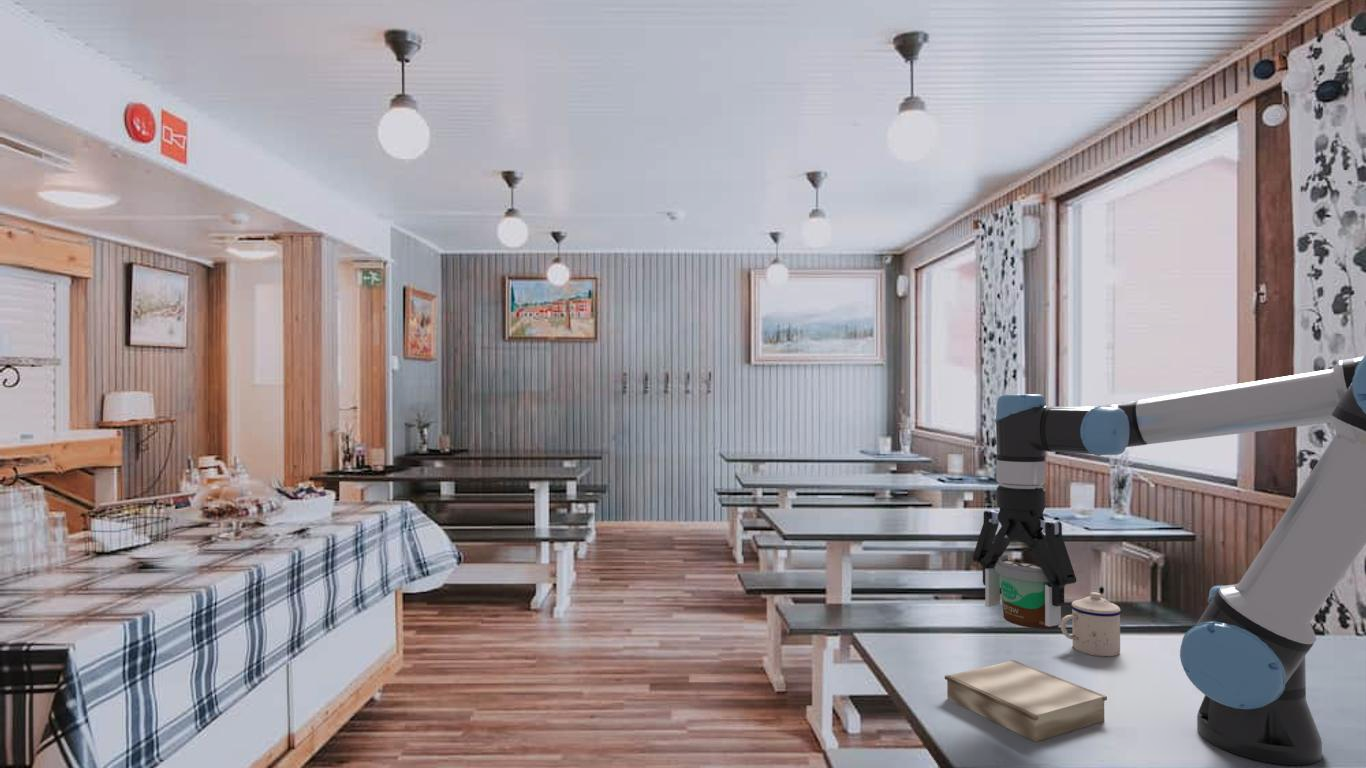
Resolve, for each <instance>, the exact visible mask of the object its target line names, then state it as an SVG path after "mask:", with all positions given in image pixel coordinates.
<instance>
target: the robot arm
mask: <svg viewBox="0 0 1366 768" xmlns="http://www.w3.org/2000/svg"><path fill="white" fill-rule="evenodd" d="M997 398H998V399H997V401H996V411H995V412H996V414H995V415H996V416H995V420H994V422H995V426H996V427H995V430H996V433H995V435H996V472H995V473H996V476H995V477H996V482H997V483H999V484H1000V485H998V486H997V487H996V505H997V507H998V508H999V510H997V509H990V510H989V509H988V510H984V512H983V523H982V526H981V530H980V532H979V536H978V539H977V542H976V546H975V549H974V552H973V555H972V561H974V562H975V563H978V564H980V566H981V567H982V584H983V586H985V592H984V594H985V595H984V596H985V597H984V598H985V600H984V601H985V605H984V606H985V607H988V608H990V607H995V606H1001V584H1000V574H999V573H997V572H996V571H995V569H996V564H997V561H998V560H999V557H1000V556H1002V555H1004V552H1005V551H1006V550H1007V548H1008V547H1009V545H1010V544H1011V542H1012V541H1019V542H1021V543H1025V544H1026V546H1027V547H1028V548H1030V549H1031V550H1032V552H1033V555H1034V557H1035V559H1036V560H1037V563H1038V564H1039V565H1040V567H1041V568H1042V570H1043V572H1044V574H1045V575H1046V577H1047V579H1048V581H1049V584H1047V585H1045V625H1046V626H1049V627H1050V626H1055V625H1059V626H1061V620H1062V615H1061V614H1062V610H1061V609H1062V606H1064V604H1065V586H1066V585H1071V584H1076V583H1077V577H1076V575H1075V571H1074V569H1073V564H1072V561H1071V558H1070V556H1069V552H1068V549H1067V545H1066V544H1065V541H1064V538H1063V524H1062V522H1061V521H1060V520H1053V521H1052V520H1051V521H1049V520H1045V517H1044V510H1045V509H1046V507H1047V506H1046V489H1045V488H1044V487H1043V485H1045V484H1046V452H1050V453H1054V452H1056V453H1068V454H1069V453H1070V454H1082V455H1083V454H1085V455H1094V456H1097V457H1100V456H1113V455H1114V456H1118V455H1121V454H1123V453H1125V451H1126V449H1127V448H1131V447H1132V448H1133V447H1138V446H1139V447H1140V446H1141V447H1142V446H1147V445H1154V444H1161V443H1171V442H1177V441H1178V442H1180V441H1187V440H1194V439H1195V440H1196V439H1203V438H1204V439H1206V438H1213V437H1222V436H1229V435H1231V436H1232V435H1238V434H1246V433H1254V432H1255V433H1257V432H1262V431H1263V432H1264V431H1273V430H1280V429H1287V428H1296V427H1297V428H1298V427H1304V426H1307V427H1308V426H1314V425H1315V426H1316V425H1324V424H1330V423H1331V424H1333V428H1334V430H1335V435H1334V436H1333V438H1332V440H1331V441H1330V443H1329V444H1328V446H1326V449H1325V450H1324V452H1323V453H1322V455H1321V457H1320V458H1319V460H1318V461H1317V463H1316V464H1315V465H1314V468H1313V469H1312V470H1311V471H1310V473H1309V475H1308V477H1307V478H1306V480H1305V481H1304V483H1303V484H1302V486H1301V487H1300V488H1299V490H1298V492H1297V494H1295V497H1294V498H1293V500H1292V501H1291V503H1290V504H1289V506H1288V507H1287V509H1286V510H1285V512H1284V513H1283V515H1282V516H1281V518H1280V520H1279V521H1278V523H1277V524H1276V525H1275V527H1274V529H1273V530H1272V532H1271V533H1270V535H1269V537H1268V538H1267V539H1266V540H1265V543H1264V544H1263V545H1262V547H1261V549H1260V550H1259V552H1258V553H1257V555H1256V556H1255V557H1254V559H1253V561H1252V562H1251V563H1250V566H1249V567H1248V569H1246V572H1245V573H1244V575H1243V576H1242V578H1241V580H1240V581H1239V582H1238V583H1235V584H1228V585H1214V586H1212V587H1211V588H1210V590H1209V595H1208V597H1207V603H1208V606H1207V607H1206V609H1205V610H1204V612H1203V613H1202V615H1201V617H1200V618H1199V619H1198V621H1197V623H1196V624H1195V625H1193V626H1192V627H1191V628H1190V629H1188V630H1186V632H1185V634H1184V635H1183V637H1182V641H1181V644H1180V649H1179V658H1180V663H1181V665H1182V668H1183V671H1184V672H1185V676H1187V678H1188V680H1189V681H1190V682H1191V683H1192V684H1193V686H1194V687H1195V688H1196V689H1197V690H1199V691H1200V692H1201V693H1202V694H1203V695H1204V696H1203V700H1202V701H1201V705H1200V706H1199V709H1198V711H1197V715H1196V729H1197V732H1198V733H1199V735H1200V736H1201V737H1202V738H1203V739H1205V740H1206V741H1207V742H1209V743H1210V744H1212V745H1214V746H1216V747H1218V748H1220V749H1222V750H1224V751H1227V752H1229V753H1232V754H1234V755H1238V756H1241V757H1243V758H1248V759H1250V760H1255V761H1259V762H1264V763H1271V764H1277V765H1286V766H1288V765H1289V766H1307V765H1311V764H1316V763H1318V762H1319V761H1321V760H1322V757H1323V742H1322V737H1321V734H1320V732H1319V729H1318V727H1317V725H1316V722H1315V720H1314V718H1313V717H1314V716H1313V715H1312V711H1311V710H1310V707H1309V704H1308V702H1307V693H1306V692H1307V691H1306V688H1307V687H1306V685H1307V681H1306V679H1307V678H1306V676H1307V675H1306V674H1307V673H1306V672H1307V671H1306V670H1307V669H1306V655H1307V654H1308V653H1309V651H1310V650H1311V648H1312V647H1313V646H1314V644H1315V643H1316V641H1317V636H1316V634H1315V632H1314V629H1313V627H1312V623H1311V622H1312V621H1313V619H1314V618H1315V617H1316V615H1317V614H1318V612H1319V611H1320V610H1321V608H1322V607H1323V605H1324V604H1325V602H1326V601H1327V599H1328V598H1329V596H1330V595H1331V594H1332V593H1333V591H1334V590H1335V588H1336V586H1337V585H1338V584H1339V582H1341V581H1340V580H1341V579H1342V578H1343V577H1344V575H1345V574H1346V573H1347V571H1348V570H1349V568H1350V566H1351V565H1352V564H1353V562H1354V561H1355V559H1356V558H1357V556H1358V555H1359V554H1360V553H1361V551H1362V549H1364V546H1365V545H1366V354H1365V355H1362V356H1358V357H1357V356H1356V357H1352V358H1346V359H1340V360H1339V361H1338V362H1337V363H1336V364H1335V365H1333V367H1332V368H1329V369H1323V370H1316V371H1310V372H1304V373H1298V374H1297V373H1296V374H1293V375H1286V376H1279V377H1273V378H1267V379H1261V380H1256V381H1254V380H1253V381H1248V382H1243V383H1242V382H1241V383H1235V384H1229V385H1224V386H1218V387H1210V388H1205V389H1200V390H1199V389H1198V390H1191V391H1186V392H1180V393H1175V394H1168V395H1162V396H1156V397H1149V398H1143V399H1139V400H1137V399H1136V400H1131V401H1130V400H1129V401H1123V402H1118V403H1116V402H1115V403H1110V404H1105V405H1104V404H1102V405H1089V406H1054V405H1046V404H1047V403H1046V400H1045V396H1044V395H1042V394H1039V393H1038V394H1033V393H1032V394H1031V393H1020V394H1019V393H1008V394H1006V393H1005V394H1002V395H1000V396H999V397H997ZM999 524H1000V529H999V530H998V528H999Z"/></svg>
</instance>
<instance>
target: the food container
mask: <svg viewBox="0 0 1366 768" xmlns="http://www.w3.org/2000/svg"><path fill="white" fill-rule="evenodd" d="M995 567H996V569H995V571H996V572H997V573H999V574H1000V595H1001V601H1002V602H1001V603H1002V611H1003V619H1004V620H1005V621H1007V622H1009V623H1011V624H1013V625H1015V626H1016V625H1017V626H1019V627H1023V628H1024V627H1025V628H1031V629H1039V630H1040V629H1043V630H1044V629H1045V630H1047V629H1048V630H1049V629H1058V628H1059V626H1060V625H1055V626H1050V627H1049V626H1046V625H1045V585H1047V584H1049V581H1048V579H1047V577H1046V575H1045V574H1044V572H1043V570H1042V568H1041V566H1039V565H1037V564H1035V563H1029V562H1027V563H1026V562H1018V561H1014V560H1011V559H1009V554H1002V556H1000V557H999V560H998V561H997V564H996V566H995Z"/></svg>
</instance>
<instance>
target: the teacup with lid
mask: <svg viewBox="0 0 1366 768" xmlns="http://www.w3.org/2000/svg"><path fill="white" fill-rule="evenodd" d="M1070 608H1071V612H1072V613H1071V614H1067V615H1065V616H1064V617H1062V618H1061V624H1060V631H1061V632H1062V634H1063V635H1064V636H1065V637H1066V638H1067V639H1069V640H1072V647H1073V648H1074V649H1075V650H1076V651H1079V652H1080V653H1083V654H1086V655H1091V656H1096V657H1104V656H1108V657H1114V655H1116V656H1118V655H1119V654H1120V653H1121V614H1122V611H1121V608H1120V606H1118V605H1117V604H1115V603H1112V602H1110V601H1109V600H1107V599H1105V598H1102V594H1101V593H1100V592H1096V591H1095V592H1094V591H1093V592H1090V593H1089V596H1086V597H1084V598H1081V599H1076V600H1074V601H1072V603H1071V605H1070ZM1070 620H1071V623H1072V624H1071V625H1072V634H1069V632H1068V630H1067V623H1068V622H1069V621H1070ZM1117 654H1118V655H1117Z"/></svg>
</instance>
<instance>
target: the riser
mask: <svg viewBox="0 0 1366 768" xmlns="http://www.w3.org/2000/svg"><path fill="white" fill-rule="evenodd" d="M944 680H946V681H947V683H946V684H947V686H946V687H947V688H946V689H947V694H946V695H947V700H950V701H951V702H953V703H956V704H957V705H960V706H962V707H964V708H966V709H967V710H970V711H972V712H973V713H976V714H978V715H980V716H982V717H984V718H985V719H989V720H990V721H992V722H994V723H996V724H998V725H1000V726H1002V727H1004V728H1007V729H1008V730H1011V731H1013V732H1014V733H1017V734H1019V735H1020V736H1023V737H1024V738H1027V739H1029V740H1031V741H1033V742H1035V743H1037V742H1040V741H1043V740H1046V739H1050V738H1053V737H1056V736H1060V735H1063V734H1067V733H1069V732H1073V731H1076V730H1079V729H1083V728H1086V727H1090V726H1093V725H1096V724H1100V723H1104V722H1105V701H1107V700H1108V697H1107V696H1108V695H1107V696H1106V695H1105V694H1102V693H1099V692H1097V691H1094V690H1092V689H1089V688H1086V687H1084V686H1081V685H1079V684H1076V683H1073V682H1071V681H1068V680H1066V679H1064V678H1061V677H1058V676H1056V675H1053V674H1051V673H1048V672H1045V671H1042V670H1040V669H1037V668H1035V667H1032V666H1030V665H1027V664H1025V663H1021V662H1019V661H1017V660H1014V659H1011V660H1009V661H1005V662H1001V663H997V664H993V665H988V666H983V667H979V668H975V669H970V670H966V671H961V672H957V673H954V674H953V673H952V674H946V675H944Z"/></svg>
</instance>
